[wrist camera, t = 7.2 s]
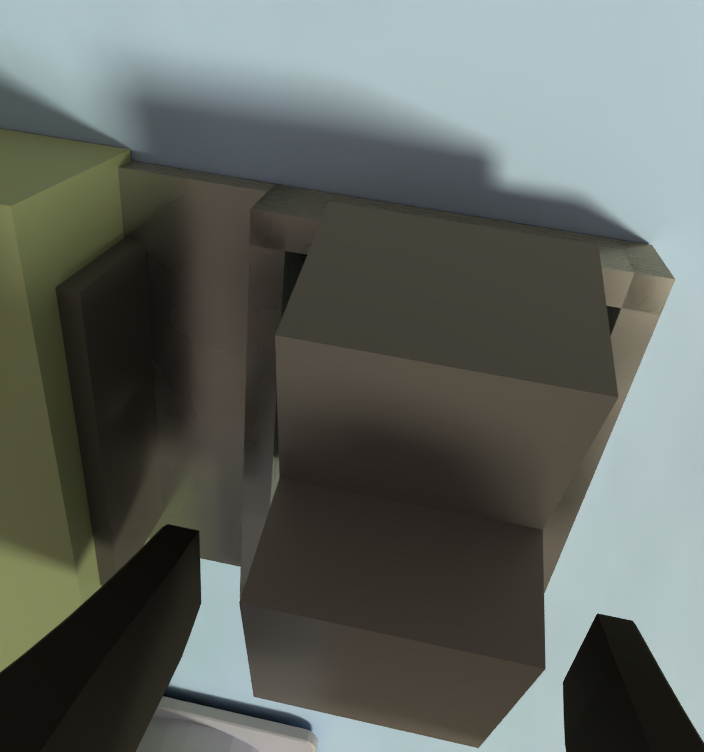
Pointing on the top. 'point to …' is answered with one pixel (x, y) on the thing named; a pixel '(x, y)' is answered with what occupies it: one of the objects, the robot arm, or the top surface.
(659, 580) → the top surface
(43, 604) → the deck
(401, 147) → the top surface
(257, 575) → the stepped block
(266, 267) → the grey rectangular frame
